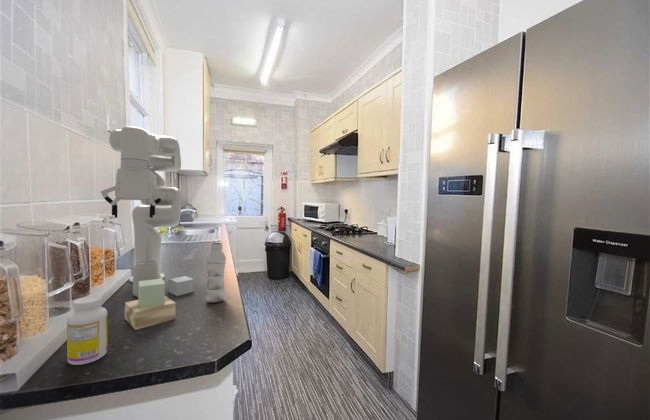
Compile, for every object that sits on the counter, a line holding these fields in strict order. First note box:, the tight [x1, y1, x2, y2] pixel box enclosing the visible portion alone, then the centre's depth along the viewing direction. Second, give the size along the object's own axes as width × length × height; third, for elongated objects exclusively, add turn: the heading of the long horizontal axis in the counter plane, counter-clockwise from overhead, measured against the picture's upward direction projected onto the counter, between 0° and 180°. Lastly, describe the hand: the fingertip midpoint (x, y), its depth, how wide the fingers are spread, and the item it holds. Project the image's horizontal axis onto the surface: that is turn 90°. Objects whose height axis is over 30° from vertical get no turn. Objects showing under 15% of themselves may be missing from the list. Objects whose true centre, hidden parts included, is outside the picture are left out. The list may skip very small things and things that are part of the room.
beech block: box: [124, 295, 177, 331], centre depth 80 cm, size 10×10×5 cm
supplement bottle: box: [66, 295, 108, 366], centre depth 60 cm, size 7×7×13 cm
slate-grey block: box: [168, 275, 194, 297], centre depth 103 cm, size 6×6×5 cm
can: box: [132, 260, 158, 298], centre depth 99 cm, size 8×8×12 cm
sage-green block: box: [137, 278, 166, 308], centre depth 80 cm, size 6×6×6 cm
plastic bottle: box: [204, 242, 227, 304], centre depth 95 cm, size 6×7×20 cm
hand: (134, 217), depth 92 cm, fingers open, 9 cm apart
